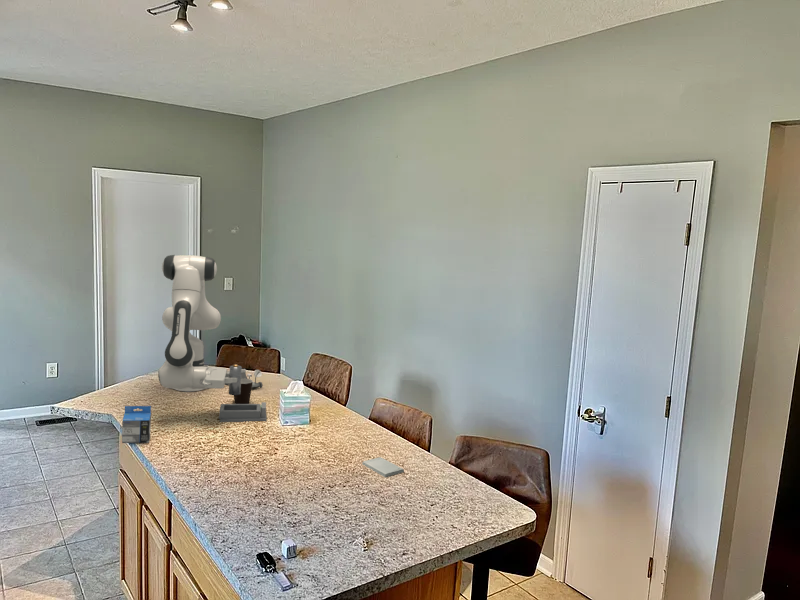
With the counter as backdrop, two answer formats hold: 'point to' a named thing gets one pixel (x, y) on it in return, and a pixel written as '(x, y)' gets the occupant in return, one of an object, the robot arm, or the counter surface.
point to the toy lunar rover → (256, 374)
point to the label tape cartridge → (136, 424)
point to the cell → (236, 386)
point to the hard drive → (383, 467)
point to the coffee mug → (244, 392)
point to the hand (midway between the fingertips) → (237, 378)
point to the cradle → (242, 412)
